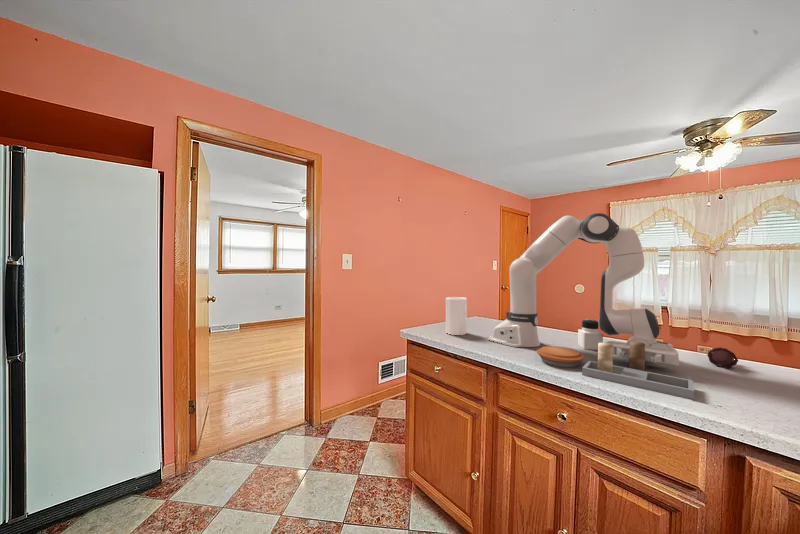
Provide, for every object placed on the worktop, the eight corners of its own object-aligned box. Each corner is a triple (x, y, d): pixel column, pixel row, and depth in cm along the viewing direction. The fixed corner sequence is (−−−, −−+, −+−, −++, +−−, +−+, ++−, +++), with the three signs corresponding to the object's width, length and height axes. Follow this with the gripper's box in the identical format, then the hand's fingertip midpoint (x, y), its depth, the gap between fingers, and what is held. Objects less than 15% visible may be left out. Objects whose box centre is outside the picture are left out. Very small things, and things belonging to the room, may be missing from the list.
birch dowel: (596, 374, 97) (596, 344, 97) (598, 371, 100) (599, 341, 100) (611, 378, 94) (611, 346, 94) (613, 374, 97) (613, 344, 97)
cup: (470, 333, 156) (471, 297, 156) (460, 337, 148) (460, 299, 148) (452, 330, 164) (452, 296, 164) (441, 333, 155) (441, 298, 155)
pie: (590, 363, 109) (590, 350, 109) (574, 373, 99) (575, 358, 99) (547, 354, 121) (547, 341, 121) (529, 362, 110) (529, 348, 110)
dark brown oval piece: (746, 356, 97) (736, 350, 109) (714, 346, 102) (708, 341, 113) (738, 375, 98) (729, 367, 109) (707, 365, 103) (701, 358, 114)
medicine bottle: (602, 350, 126) (603, 322, 125) (584, 349, 127) (584, 321, 127) (595, 345, 133) (595, 319, 132) (577, 345, 134) (578, 318, 134)
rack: (582, 375, 97) (582, 367, 97) (588, 367, 104) (588, 360, 104) (694, 400, 79) (694, 390, 79) (692, 388, 87) (692, 380, 87)
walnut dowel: (629, 373, 99) (629, 343, 99) (630, 370, 102) (630, 341, 102) (644, 376, 96) (644, 345, 96) (645, 373, 99) (645, 343, 99)
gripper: (606, 335, 116) (599, 342, 106) (678, 345, 102) (678, 353, 92) (606, 351, 116) (599, 359, 106) (678, 363, 102) (678, 374, 92)
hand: (637, 357), depth 99 cm, fingers open, 7 cm apart
